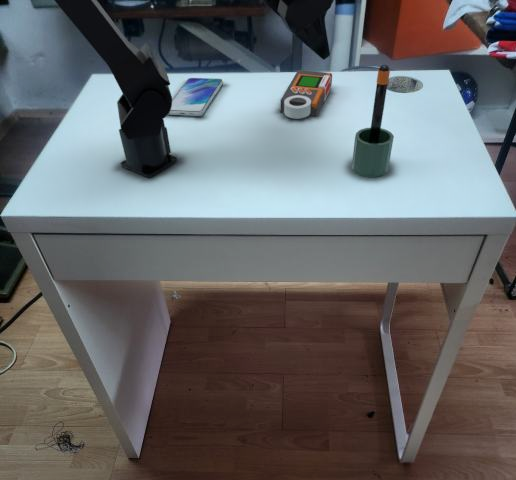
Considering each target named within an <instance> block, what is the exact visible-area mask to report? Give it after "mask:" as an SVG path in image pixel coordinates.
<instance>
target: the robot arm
mask: <svg viewBox="0 0 516 480" xmlns="http://www.w3.org/2000/svg"><path fill="white" fill-rule="evenodd" d="M53 1H54V2H55V3H56V5H57V6H58V7H59V8H60V9H61V10H62V12H63V13H64V14H65V16H66V17H67V18H68V19H69V20H70V22H72V24H73V25H74V26H75V28H76V29H77V30H78V31H79V33H81V34H82V36H83V37H84V38H85V39H86V41H87V42H88V43H89V44H90V46H91V47H92V48H93V49H94V51H95V52H96V53H97V54H98V55H99V56H100V58H101V59H102V60H103V62H105V63H106V65H107V66H108V69H109V70H110V72H111V74H112V75H113V78H114V79H115V81H116V83H117V85H118V87H119V89H120V91H121V93H122V94H121V95H120V97H119V98H118V100H117V101H116V105H117V113H118V119H119V127H120V128H119V129H118V132H119V133H118V134H119V137H120V141H121V144H122V149H123V153H124V157H125V159H124V160H122V161H121V162H120V166H121V167H122V168H124V169H126V170H129V171H131V172H133V173H136V174H138V175H141V176H143V177H146V178H151V177H154V176H155V175H157V174H159V173H160V172H161V171H163V170H165V169H166V168H168V167H170V166H172V165H174V164H175V163H176V162H178V157H177V156H176V155H173V154H171V145H170V140H169V134H168V128H167V127H166V125H165V120H164V119H165V118H166V117H167V116H168V115H169V112H170V110H171V107H172V99H173V95H172V93H171V90H170V85H171V82H170V79H169V75H168V72H167V70H166V67H165V65H164V64H162V63H161V62H159V60H158V59H157V58H156V57H155V56H154V53H153V52H152V50H151V48H150V46H149V44H148V43H147V42H145V43H144V44H143V45H142V46H141V48H138V47H137V46H135V45H134V44H133V43H131V42H130V41H129V40H128V39H127V38H126V37H125V36H124V34H123V33H122V31H121V30H120V29H119V28H118V26H117V25H116V24H115V22H114V21H113V20H112V18H111V17H110V16H109V14H108V13H107V12H106V11H105V9H104V8H103V6H102V5H101V4H100V2H99V1H98V0H53ZM334 1H335V0H262V2H263V3H264V4H265V5H266V6H267V7H268V8H269V9H270V10H271V11H272V12H273V13H275V14H276V15H277V16H278V17H279V18H280V19H281V21H282V22H283V24H284V25H285V27H286V29H287V30H288V31H289V32H290V33H291V34H292V36H295V38H297V39H298V40H299V41H301V42H302V43H303V44H304V45H305V46H307V48H309V49H310V50H311V51H312V52H313V53H315V54H316V55H317V56H318V57H319V58H320V59H322V60H326V59H327V58H329V57H330V55H331V50H330V45H329V39H328V33H327V28H326V17H327V16H326V15H327V13H328V11H329V10H330V9H331V7H332V5H333V3H334Z"/></svg>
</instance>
